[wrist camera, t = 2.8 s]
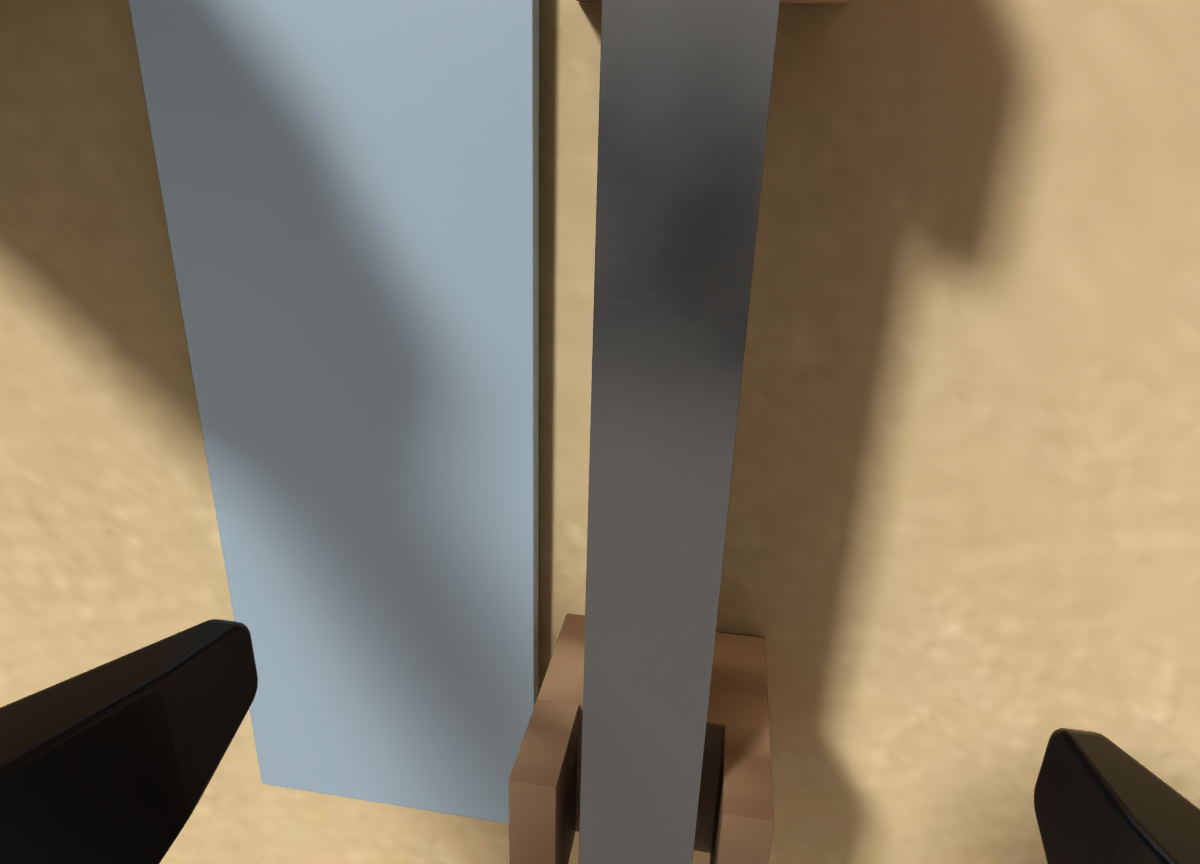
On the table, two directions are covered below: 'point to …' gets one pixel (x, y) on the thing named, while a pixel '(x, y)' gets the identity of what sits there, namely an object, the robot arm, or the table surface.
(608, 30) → the rail
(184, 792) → the robot arm
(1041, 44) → the table surface
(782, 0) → the stand near
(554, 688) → the stand far
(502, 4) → the mat
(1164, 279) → the table surface
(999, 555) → the table surface
